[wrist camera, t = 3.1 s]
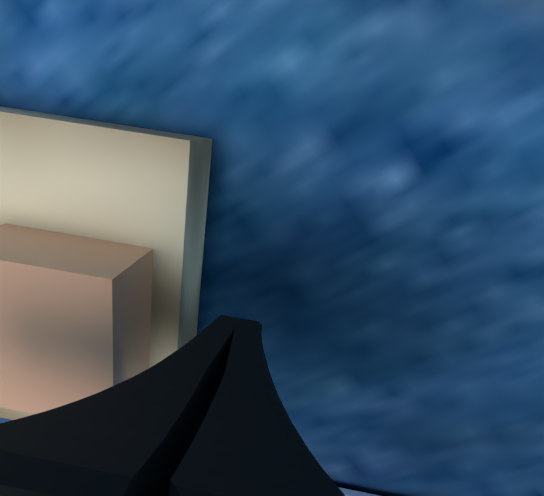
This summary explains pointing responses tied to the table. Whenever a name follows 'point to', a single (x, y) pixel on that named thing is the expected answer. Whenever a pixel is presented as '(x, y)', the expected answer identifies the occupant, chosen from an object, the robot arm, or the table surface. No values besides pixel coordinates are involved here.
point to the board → (114, 202)
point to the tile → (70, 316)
